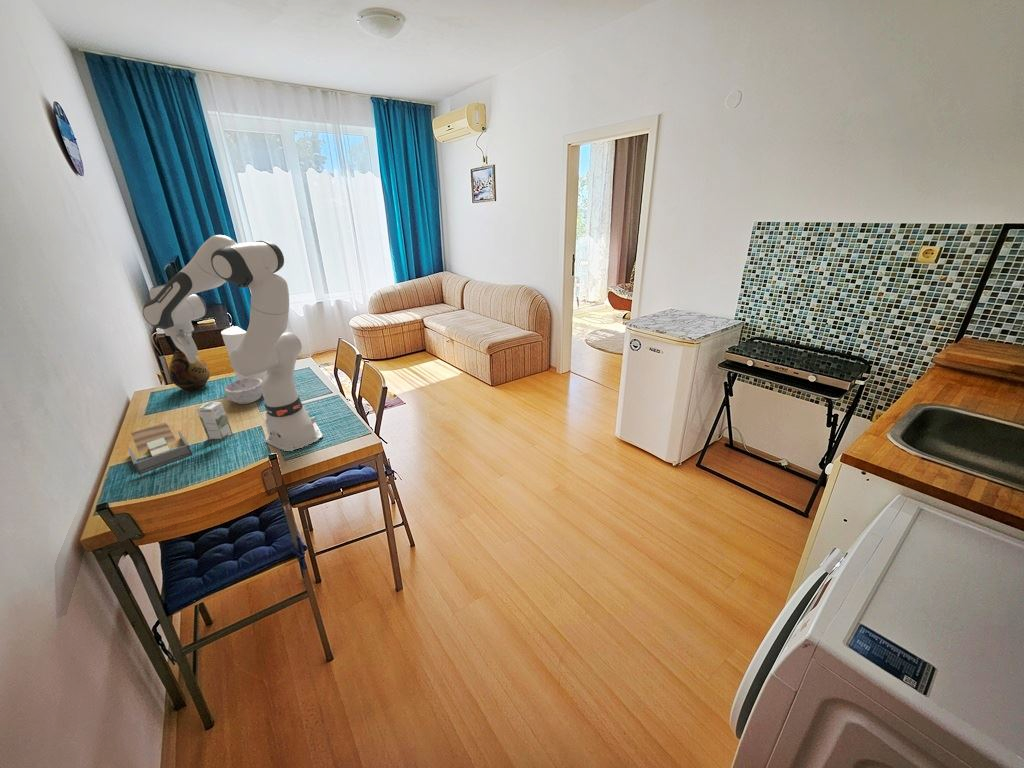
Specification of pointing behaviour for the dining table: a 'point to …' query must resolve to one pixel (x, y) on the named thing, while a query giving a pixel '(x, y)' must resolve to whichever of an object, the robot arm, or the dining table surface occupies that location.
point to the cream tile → (159, 450)
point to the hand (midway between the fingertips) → (192, 362)
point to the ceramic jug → (187, 370)
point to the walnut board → (152, 435)
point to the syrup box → (214, 420)
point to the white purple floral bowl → (244, 390)
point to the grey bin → (162, 458)
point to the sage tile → (157, 443)
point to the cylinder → (231, 341)
